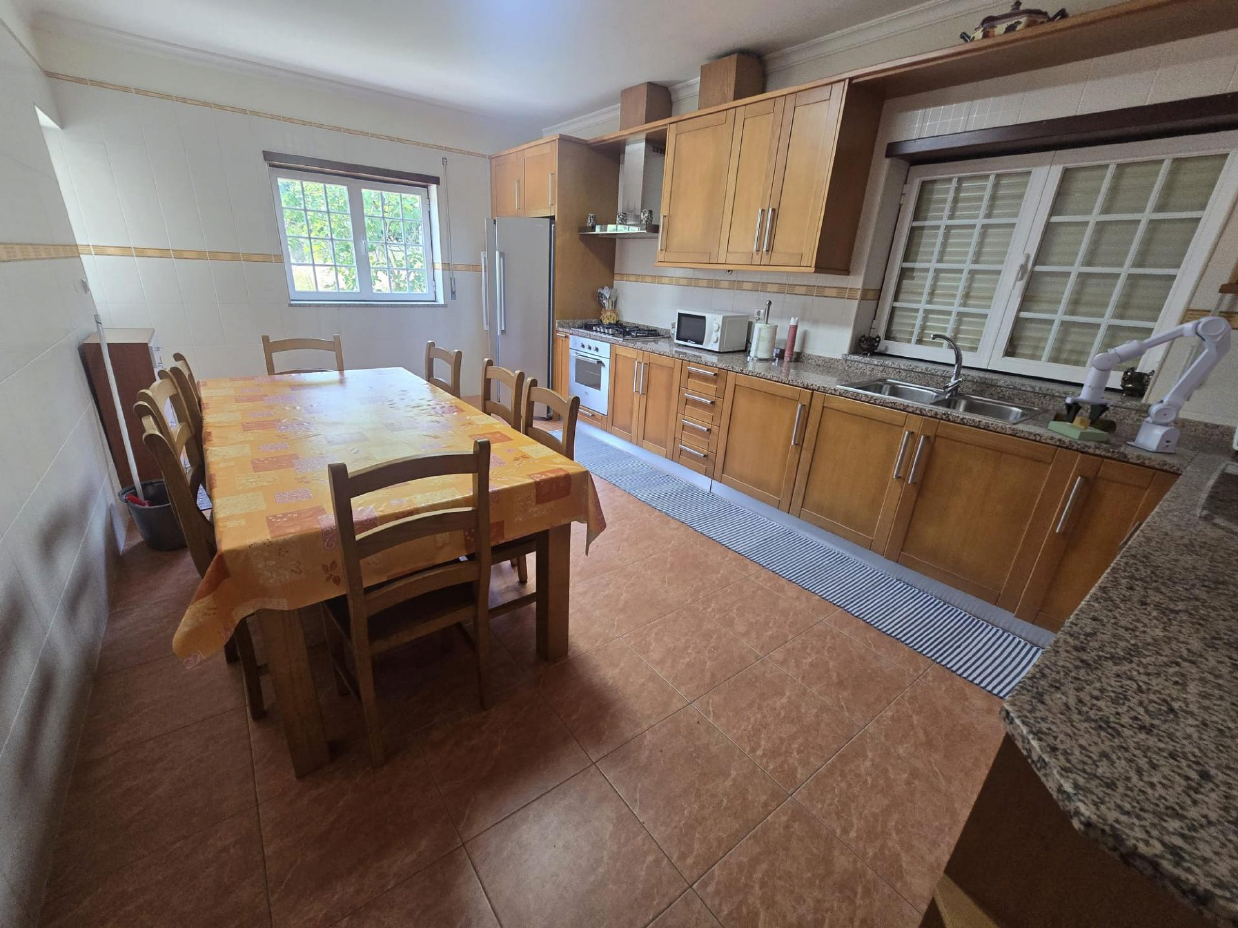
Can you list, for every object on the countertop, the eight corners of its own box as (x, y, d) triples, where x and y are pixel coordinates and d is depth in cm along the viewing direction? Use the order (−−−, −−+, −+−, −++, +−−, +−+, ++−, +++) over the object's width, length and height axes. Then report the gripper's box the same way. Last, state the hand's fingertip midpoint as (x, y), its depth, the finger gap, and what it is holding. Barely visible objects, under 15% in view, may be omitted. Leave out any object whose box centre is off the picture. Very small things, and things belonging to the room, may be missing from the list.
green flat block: (1106, 441, 179) (1109, 432, 178) (1077, 439, 179) (1080, 431, 178) (1073, 430, 192) (1077, 422, 191) (1047, 428, 192) (1050, 420, 191)
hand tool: (1051, 421, 205) (1055, 410, 203) (1053, 420, 207) (1058, 409, 205) (1112, 433, 191) (1117, 422, 189) (1114, 432, 193) (1119, 420, 192)
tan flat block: (1087, 429, 182) (1091, 419, 180) (1083, 429, 182) (1087, 419, 180) (1073, 424, 187) (1077, 415, 186) (1070, 424, 187) (1073, 414, 186)
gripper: (1104, 386, 183) (1090, 421, 188) (1065, 383, 183) (1051, 419, 188) (1122, 390, 177) (1107, 427, 181) (1081, 387, 177) (1066, 424, 181)
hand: (1079, 423), depth 184 cm, fingers open, 7 cm apart
